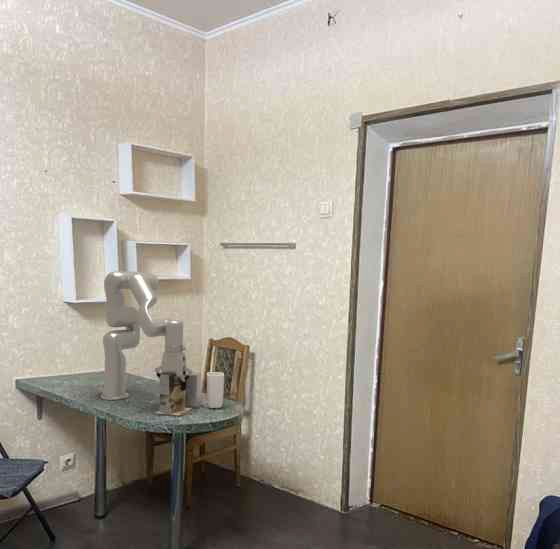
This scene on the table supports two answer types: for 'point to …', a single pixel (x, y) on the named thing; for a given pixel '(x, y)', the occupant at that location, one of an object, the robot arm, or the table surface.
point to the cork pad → (177, 413)
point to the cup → (215, 389)
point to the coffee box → (171, 393)
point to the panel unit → (193, 391)
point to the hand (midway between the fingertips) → (173, 389)
